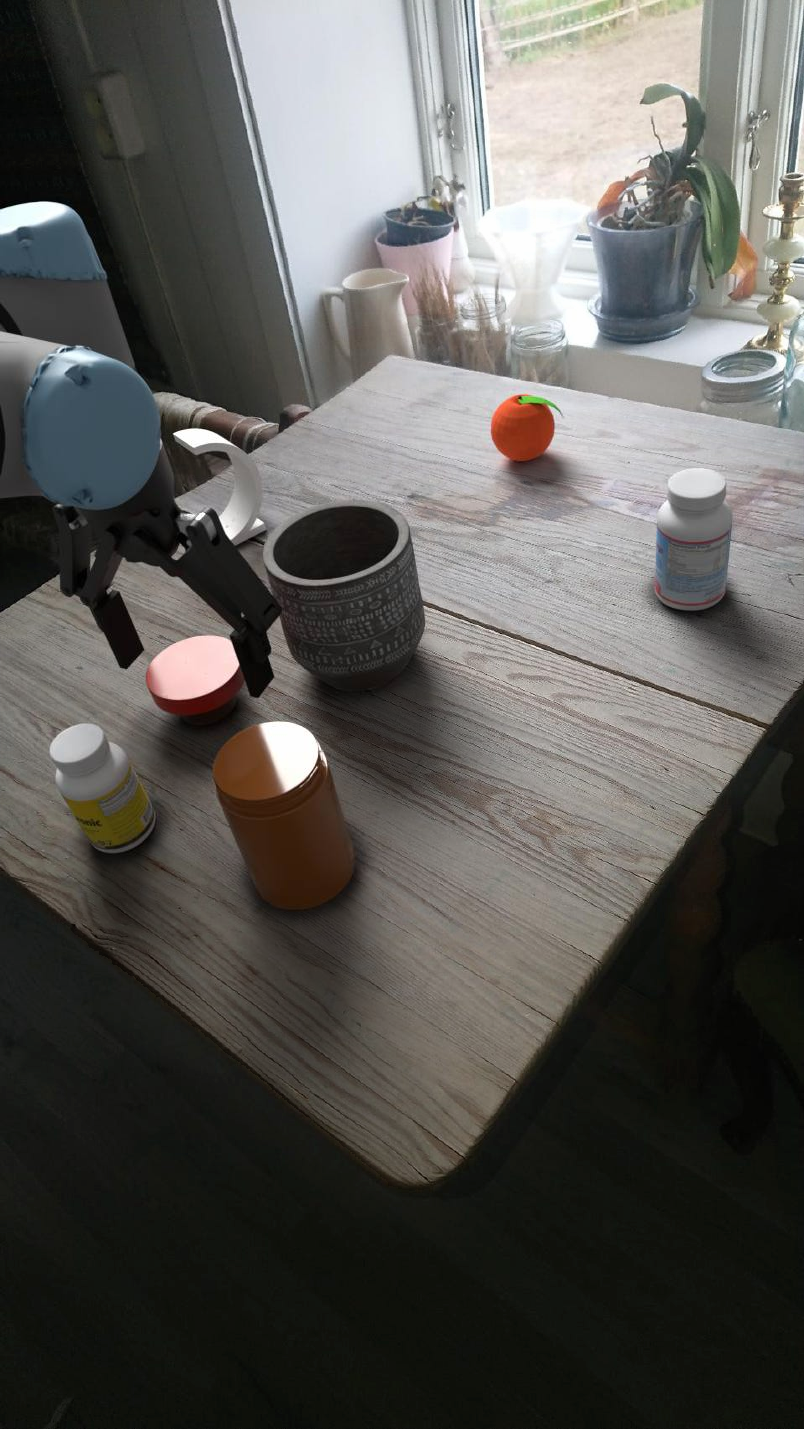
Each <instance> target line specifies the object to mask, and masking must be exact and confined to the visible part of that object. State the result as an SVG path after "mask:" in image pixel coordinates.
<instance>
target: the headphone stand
mask: <svg viewBox="0 0 804 1429" xmlns="http://www.w3.org/2000/svg"><path fill="white" fill-rule="evenodd" d="M172 435H173V437H174V441H175V442H176V443H177V444H179V445H181V447H183V448H185V449H186V450H188V451H189V452H190V453H192V454H193V455H195V456H198V455H202V454H204V453H207V452H208V453H209V452H223V453H226V455H227V456H228V458H229V459H230V462H231V465H232V468H233V474H234V475H233V476H234V483H233V484H234V485H233V489H232V490H233V491H232V494H231V496H230V500H229V502H228V504H227V506H226V508H225V509H224V510H223V512H222V513H221V514H220V515H218V517H219V519H220V522H221V524H222V526H223V529H224V531H225V533H226V535H227V536H228V537H229V539H230V540H231V541H232V543H233V544H234V545H235V547H236V546H238V545H239V544H242V543H244V542H245V541H247V540H249V539H251V538H253V537H255V536H257V535H258V534H260V533H263V532H264V531H266V530H267V527H266V524H265V522H264V521H262V520H261V519H259V518H258V516H259V514H260V510H261V507H262V503H263V494H264V489H263V481H262V476H261V472H260V471H259V468H258V466H257V465H256V463H255V461H254V460H253V459H252V458H251V457H250V455H248V454H247V452H246V451H244V450H243V449H241V448H239V447H238V446H236V445H235V444H233V443H232V442H230V441H229V440H227V439H226V438H224V437H223V436H221V435H220V434H218V433H217V432H213V431H210V430H208V429H203V428H187V429H183V430H178V431H176V432H174V433H172Z"/></svg>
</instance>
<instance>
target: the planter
mask: <svg viewBox="0 0 804 1429" xmlns="http://www.w3.org/2000/svg"><path fill="white" fill-rule="evenodd" d="M410 528H411V527H410V525H409V522H408V520H407V519H406V517H405V516H404V515H403V514H402V513H401V512H400V511H398V510H397V508H394V507H392V506H390V505H388V504H385V503H382V502H378V501H374V500H366V499H343V500H335V501H334V500H333V501H329V502H324V503H319V504H316V505H312V506H310V507H308V508H305V509H302V510H301V511H299V512H297V513H295V514H294V515H292V516H290V517H289V518H287V519H286V520H284V521H283V522H281V523H280V524H279V525H277V527H276V528H274V530H272V532H271V533H270V534H269V535H268V537H267V539H266V540H265V542H264V545H263V547H262V553H261V555H262V556H261V557H262V563H263V567H264V570H265V573H266V576H267V579H268V584H269V587H270V591H271V594H272V595H273V597H274V598H275V599H276V601H277V602H278V603H279V605H280V606H281V608H282V613H281V614H280V616H279V617H278V618H279V620H280V624H281V629H282V632H283V635H284V639H285V642H286V644H287V648H288V651H289V653H290V655H291V657H292V658H293V659H294V661H295V662H296V663H297V664H299V665H300V666H301V667H302V668H303V669H305V670H306V671H307V672H309V673H310V674H311V675H312V676H314V677H316V678H317V679H319V680H320V681H322V682H323V683H325V684H327V685H329V686H330V687H332V688H334V689H338V690H341V691H347V692H348V691H349V692H361V691H368V690H372V689H376V688H379V687H381V686H383V685H386V684H388V683H390V682H391V681H394V679H395V678H397V677H398V676H399V675H400V674H401V673H402V672H403V671H404V669H405V668H406V666H407V665H408V663H409V661H410V660H411V659H412V657H413V655H414V653H415V652H416V650H417V648H418V646H419V644H420V642H421V640H422V638H423V636H424V632H425V628H426V615H425V607H424V602H423V595H422V592H421V587H420V581H419V573H418V568H417V567H418V566H417V561H416V556H415V555H416V554H415V550H414V544H413V543H414V542H413V537H412V533H411V529H410Z"/></svg>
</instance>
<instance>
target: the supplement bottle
mask: <svg viewBox="0 0 804 1429" xmlns="http://www.w3.org/2000/svg"><path fill="white" fill-rule="evenodd" d="M49 756H50V758H51V760H52V761H53V764H54V766H55V767H56V771H55V778H54V779H55V785H56V787H57V789H58V792H59V793H60V795H61V796H62V798H63V799H64V802H65V803H66V804H67V806H68V808H69V809H70V811H71V813H72V815H73V816H74V817H75V820H76V821H77V823H78V825H79V826H80V828H81V830H82V832H83V833H84V835H85V836H86V838H87V839H88V842H90V844H91V845H92V846H93V847H94V848H95V849H96V850H97V851H100V852H103V853H106V854H119V853H124V852H126V851H129V850H132V849H134V848H135V847H137V846H139V845H140V844H142V843H143V842H144V841H145V840H146V839H147V838H148V837H149V836H150V835H151V833H152V831H153V829H154V827H155V824H156V820H157V819H156V812H155V809H154V806H153V804H152V802H151V800H150V798H149V796H148V795H147V793H146V790H145V789H144V787H143V785H142V782H141V781H140V779H139V777H138V775H137V773H136V771H135V768H134V767H133V765H132V763H131V760H130V758H129V757H128V755H127V754H126V752H125V751H124V749H123V748H122V747H121V746H120V745H118V744H116V743H114V742H112V741H109V740H108V738H107V736H106V734H105V732H104V730H103V729H102V728H101V727H100V726H98V725H96V724H94V723H79V724H75V725H72V726H70V727H68V728H66V729H64V730H62V731H60V733H58V734H57V735H56V736H55V737H54V739H53V740H52V742H51V743H50V747H49Z"/></svg>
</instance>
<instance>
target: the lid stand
mask: <svg viewBox="0 0 804 1429" xmlns="http://www.w3.org/2000/svg"><path fill="white" fill-rule="evenodd" d="M237 700H238V694H236V695H235V696H234V697H232V698H231V699H230V700H229V701H227V702H226V703H224V704H223V705H221V706H219V707H217V708H215V709H213V710H210V711H207V712H204V713H200V714H195V715H179V716H180V718H181V719H182V720H183V721H185V722H186V723H188V724H191V725H196V726H197V725H199V726H203V725H209V724H212V723H215V722H218V721H220V720H222V719H224V718H225V717H227V716H228V715H230V713H231V712H232V711H233V709H234V708H235V707H236V704H237Z"/></svg>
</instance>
